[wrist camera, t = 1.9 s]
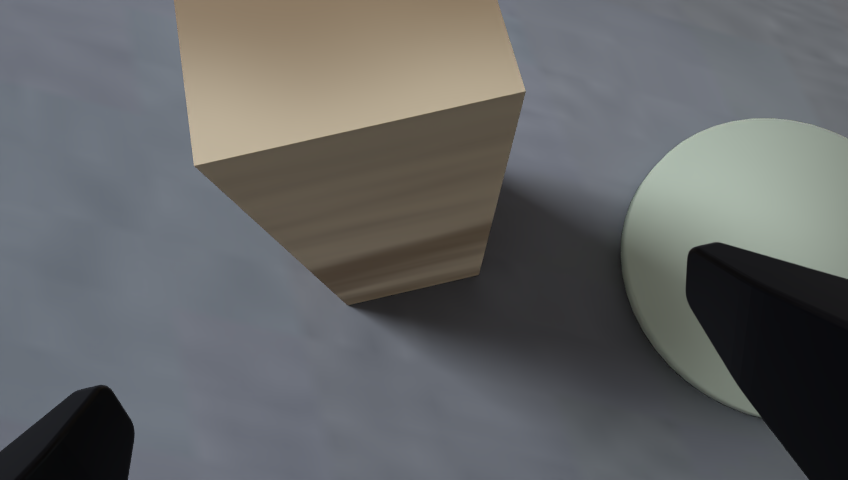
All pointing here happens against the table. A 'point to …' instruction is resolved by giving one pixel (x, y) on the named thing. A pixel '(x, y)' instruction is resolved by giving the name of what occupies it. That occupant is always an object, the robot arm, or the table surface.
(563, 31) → the table surface
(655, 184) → the sage mat
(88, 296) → the table surface
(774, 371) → the robot arm
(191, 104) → the maple block
